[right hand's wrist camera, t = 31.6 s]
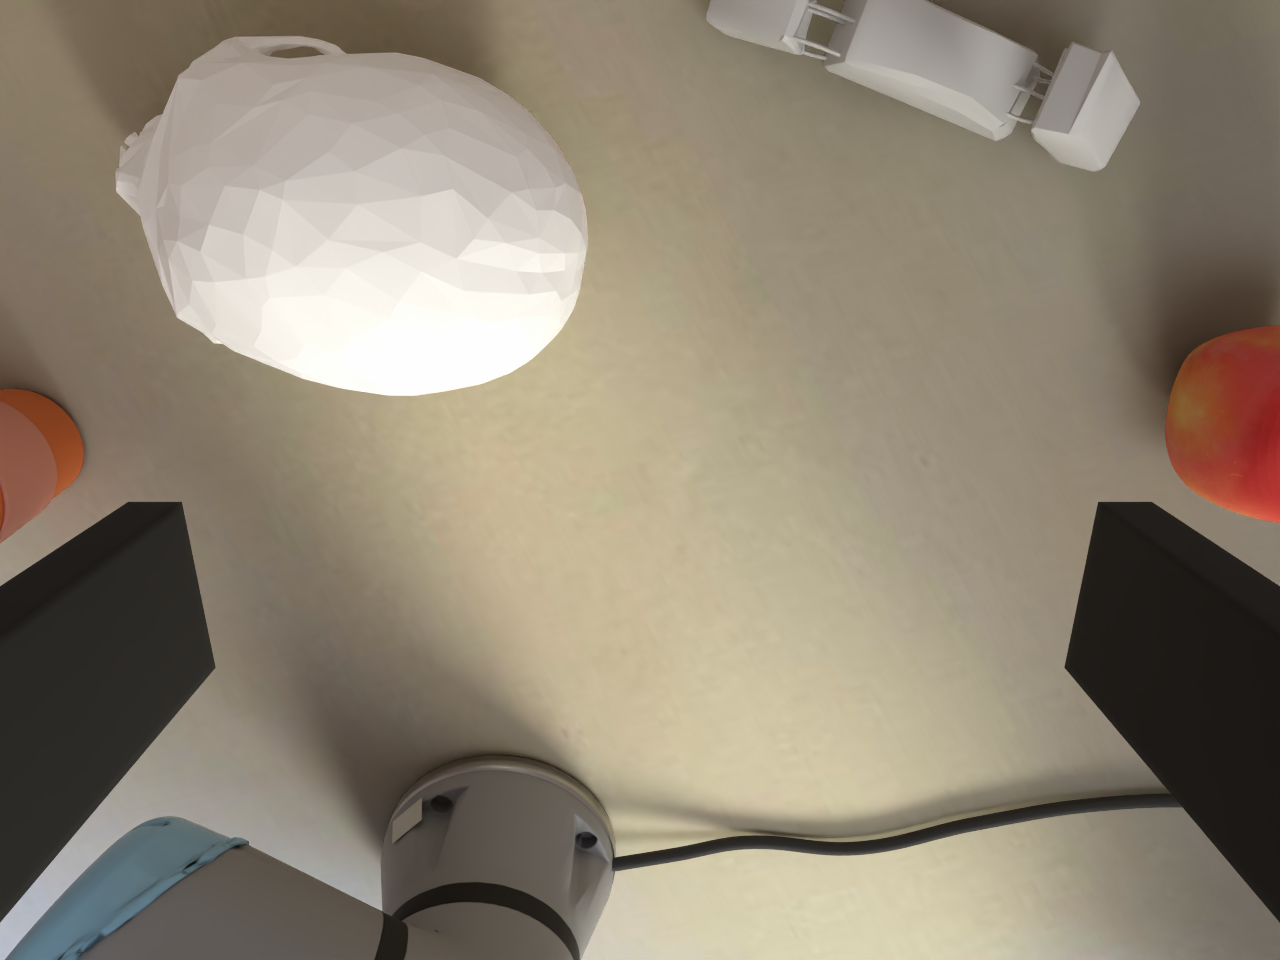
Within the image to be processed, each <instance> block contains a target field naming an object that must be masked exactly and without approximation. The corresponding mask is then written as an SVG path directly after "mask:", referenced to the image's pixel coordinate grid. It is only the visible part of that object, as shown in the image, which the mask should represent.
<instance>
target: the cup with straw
mask: <svg viewBox="0 0 1280 960" xmlns="http://www.w3.org/2000/svg"><path fill="white" fill-rule="evenodd" d="M83 461H84V446H83V442H82V438H81V435H80V433H79V431H78V429H77V427H76V425H75V423H74V422H73V421H72V419H71V418H70V417H69V415H68V414H67V413H66V412H65V411H64V410H63V409H62V408H61V407H59V406H58V405H57V404H56V403H54V402H53V401H51V400H50V399H48V398H46V397H44V396H42V395H40V394H37V393H35V392H31V391H28V390H22V389H3V390H0V543H1V542H3V541H4V540H5V539H7V538H8V537H9V536H10V535H12V534H13V533H14V532H16V531H17V530H18V529H20V528H21V527H22V526H24V525H25V524H26V523H27V522H29V521H30V520H31V519H33V518H34V517H35V516H37V515H38V514H39V513H40V512H41V511H42V510H44V509H45V508H46V506H47V505H48V504H49V502H50V501H51V499H53V498H54V497H55V496H57V495H58V494H59V493H61V492H62V491H63V490H64V489H66V488H67V487H68V486H69V485H71V484H72V483H73V482H74V481H75V479H76V478H77V477H78V475H79V473H80V471H81V469H82V466H83Z"/></svg>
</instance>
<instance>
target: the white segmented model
mask: <svg viewBox="0 0 1280 960" xmlns="http://www.w3.org/2000/svg"><path fill="white" fill-rule="evenodd" d="M816 2H817V0H711V1H710V4H709V7H708V11H707V14H706V20H707V22H708V23H710V24H711V25H712V26H714V27H715V28H717V29H718V30H719V31H721V32H722V33H724V34H725V35H727V36H730V37H734V38H737V39H741V40H745V41H748V42H752V43H756V44H759V45H763V46H767V47H770V48H774V49H778V50H782V51H785V52H789V53H793V54H797V55H802V54H804V55H807V56H810V57H814V58H819V59H823V66H824V67H825V68H826V69H827V70H828V71H829V72H831V73H834V74H836V75H839V76H841V77H844V78H846V79H848V80H851V81H853V82H856V83H858V84H860V85H863V86H865V87H868V88H870V89H873V90H875V91H877V92H880V93H882V94H885V95H887V96H889V97H892V98H894V99H897V100H899V101H901V102H904V103H906V104H908V105H911V106H913V107H915V108H918V109H920V110H923V111H925V112H927V113H930V114H932V115H934V116H937V117H939V118H942V119H944V120H946V121H949V122H951V123H954V124H956V125H958V126H961V127H963V128H965V129H968V130H970V131H973V132H975V133H977V134H980V135H982V136H984V137H987V138H989V139H992V140H994V141H997V140H1000V139H1003V138H1005V137H1006V136H1008V135H1009V134H1011V133H1012V131H1013V129H1014V127H1015V125H1016V123H1017V121H1020V122H1024V123H1028V124H1032V127H1031V135H1032V137H1033V139H1034V140H1036V141H1037V142H1038V143H1039V144H1040V145H1042V146H1043V147H1044V148H1045V149H1046V150H1047V151H1048V152H1049V153H1050V154H1051V155H1052V156H1053V158H1054V159H1055V160H1056V161H1058V162H1060V163H1063V164H1066V165H1070V166H1074V167H1078V168H1082V169H1086V170H1090V171H1093V172H1095V171H1098V170H1100V169H1102V168H1104V167H1105V166H1106V165H1107V163H1108V161H1109V159H1110V157H1111V156H1112V154H1113V152H1114V150H1115V148H1116V147H1117V145H1118V143H1119V141H1120V139H1121V138H1122V136H1123V134H1124V132H1125V130H1126V129H1127V127H1128V125H1129V123H1130V121H1131V119H1132V118H1133V116H1134V114H1135V112H1136V110H1137V109H1138V107H1139V105H1140V101H1139V98H1138V96H1137V94H1136V92H1135V91H1134V89H1133V88H1132V86H1131V84H1130V83H1129V81H1128V79H1127V78H1126V76H1125V74H1124V72H1123V70H1122V68H1121V66H1120V64H1119V62H1118V60H1117V58H1116V56H1115V54H1114V52H1113V50H1111V51H1106V52H1100V51H1097V50H1095V49H1092V48H1089V47H1086V46H1083V45H1081V44H1078V43H1075V42H1072V43H1071V44H1070V46H1069V48H1065V49H1064V51H1063V53H1062V56H1061V58H1060V60H1059V63H1058V65H1057V68H1056V70H1055V72H1054V73H1053V72H1052V71H1050V70H1048V69H1046V68H1045V67H1043V66H1041V65H1039V61H1038V59H1037V58H1038V55H1037V54H1036V53H1035V52H1034V51H1033V50H1031V49H1029V48H1027V47H1025V46H1023V45H1021V44H1019V43H1017V42H1015V41H1013V40H1011V39H1009V38H1007V37H1005V36H1003V35H1001V34H999V33H997V32H995V31H993V30H991V29H989V28H986V27H984V26H982V25H980V24H978V23H975V22H973V21H971V20H969V19H967V18H964V17H962V16H960V15H958V14H955V13H953V12H951V11H949V10H947V9H944V8H942V7H940V6H938V5H936V4H934V3H932V2H930V1H928V0H845V1H844V4H843V7H842V9H841V12H840V13H839V12H837V11H835V10H833V9H831V8H828V7H825V6H822V5H819V4H816ZM826 12H827V13H826ZM813 13H814V14H817V15H820V16H823V17H826V18H828V19H830V20H833V21H835V22H837V23H836V25H835V28H834V31H833V34H832V36H831V39H830V42H829V44H828V47H826V46H823V45H821V44H818V43H815V42H813V41H810V40H807V39H806V35H807V31H808V28H809V24H810V21H811V18H812V15H813ZM829 13H830V14H829ZM831 14H832V15H831ZM806 45H809V46H812V47H815V48H818V49H820V50H823V51H825V55H822V54H817V53H813V52H810V51H807V50H805V46H806ZM1040 71H1041V72H1043V73H1045V74H1047V75H1048V76H1050V77H1052V79H1051V80H1047V79H1043V78H1040ZM1037 82H1041V83H1044V84H1049V87H1048V89H1047V91H1046V94H1045V96H1044V95H1042V94H1040V93H1037V92H1035V91H1033V90H1034V88H1035V86H1036V84H1037ZM1030 95H1032V96H1035V97H1037V98H1039V99H1041V100H1043V101H1042V103H1041V106H1040V108H1039V111H1038V113H1037V115H1036V118H1035V120H1031V119H1027V118H1023V117H1020V115H1021V113H1022V111H1023V109H1024V107H1025V105H1026V103H1027V101H1028V99H1029V97H1030Z"/></svg>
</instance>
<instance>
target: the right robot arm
mask: <svg viewBox="0 0 1280 960" xmlns="http://www.w3.org/2000/svg"><path fill="white" fill-rule="evenodd" d="M214 669H215V663H214V658H213V653H212V648H211V643H210V639H209V634H208V629H207V624H206V619H205V614H204V609H203V604H202V599H201V594H200V589H199V584H198V580H197V575H196V570H195V565H194V560H193V555H192V550H191V545H190V540H189V535H188V530H187V525H186V521H185V516H184V511H183V506H182V502H128V503H126V504H125V505H123V506H121V507H120V508H118V509H117V510H115V511H114V512H112V513H111V514H109V515H108V516H106V517H105V518H103V519H102V520H100V521H99V522H97V523H96V524H94V525H93V526H91V527H90V528H88V529H87V530H85V531H84V532H82V533H80V534H79V535H77V536H76V537H74V538H73V539H71V540H70V541H68V542H67V543H65V544H64V545H62V546H61V547H59V548H58V549H56V550H55V551H53V552H52V553H50V554H49V555H47V556H46V557H44V558H43V559H41V560H40V561H38V562H36V563H35V564H33V565H32V566H30V567H29V568H27V569H26V570H24V571H23V572H21V573H20V574H18V575H17V576H15V577H14V578H12V579H11V580H9V581H8V582H6V583H5V584H3V585H2V586H0V922H1V921H2V920H3V918H4V917H5V916H6V915H7V914H8V913H9V911H10V910H11V909H12V908H13V907H14V905H15V904H16V903H17V902H18V901H19V900H20V898H21V897H22V896H23V895H24V894H25V892H26V891H27V890H28V889H29V888H30V887H31V885H32V884H33V883H34V882H35V881H36V879H37V878H38V877H39V876H40V875H41V873H42V872H43V871H44V870H45V869H46V868H47V866H48V865H49V864H50V863H51V862H52V860H53V859H54V858H55V857H56V856H57V855H58V853H59V852H60V851H61V850H62V849H63V847H64V846H65V845H66V844H67V843H68V842H69V840H70V839H71V838H72V837H73V836H74V834H75V833H76V832H77V831H78V830H79V828H80V827H81V826H82V825H83V824H84V823H85V821H86V820H87V819H88V818H89V817H90V815H91V814H92V813H93V812H94V811H95V810H96V808H97V807H98V806H99V805H100V804H101V802H102V801H103V800H104V799H105V798H106V797H107V795H108V794H109V793H110V792H111V791H112V789H113V788H114V787H115V786H116V785H117V784H118V782H119V781H120V780H121V779H122V778H123V776H124V775H125V774H126V773H127V772H128V770H129V769H130V768H131V767H132V766H133V765H134V763H135V762H136V761H137V760H138V759H139V757H140V756H141V755H142V754H143V753H144V752H145V750H146V749H147V748H148V747H149V746H150V744H151V743H152V742H153V741H154V740H155V739H156V737H157V736H158V735H159V734H160V733H161V731H162V730H163V729H164V728H165V727H166V726H167V724H168V723H169V722H170V721H171V720H172V718H173V717H174V716H175V715H176V714H177V712H178V711H179V710H180V709H181V708H182V707H183V705H184V704H185V703H186V702H187V701H188V699H189V698H190V697H191V696H192V695H193V694H194V692H195V691H196V690H197V689H198V688H199V686H200V685H201V684H202V683H203V682H204V681H205V679H206V678H207V677H208V676H209V675H210V673H211V672H212V671H213V670H214ZM1065 669H1066V670H1067V671H1068V672H1069V673H1070V675H1071V676H1072V677H1073V678H1074V679H1075V681H1076V682H1077V683H1078V684H1079V685H1080V686H1081V688H1082V689H1083V690H1084V691H1085V692H1086V694H1087V695H1088V696H1089V697H1090V698H1091V699H1092V701H1093V702H1094V703H1095V704H1096V705H1097V707H1098V708H1099V709H1100V710H1101V711H1102V712H1103V714H1104V715H1105V716H1106V717H1107V718H1108V720H1109V721H1110V722H1111V723H1112V724H1113V726H1114V727H1115V728H1116V729H1117V730H1118V731H1119V733H1120V734H1121V735H1122V736H1123V737H1124V739H1125V740H1126V741H1127V742H1128V743H1129V744H1130V746H1131V747H1132V748H1133V749H1134V750H1135V752H1136V753H1137V754H1138V755H1139V756H1140V757H1141V759H1142V760H1143V761H1144V762H1145V763H1146V765H1147V766H1148V767H1149V768H1150V769H1151V770H1152V772H1153V773H1154V774H1155V775H1156V776H1157V778H1158V779H1159V780H1160V781H1161V782H1162V784H1163V785H1164V786H1165V787H1166V788H1167V789H1168V791H1169V792H1170V793H1171V794H1143V795H1125V796H1112V797H1100V798H1090V799H1080V800H1071V801H1063V802H1056V803H1049V804H1043V805H1037V806H1031V807H1025V808H1020V809H1014V810H1009V811H1004V812H998V813H993V814H988V815H983V816H977V817H972V818H967V819H962V820H958V821H953V822H949V823H945V824H941V825H937V826H933V827H929V828H926V829H922V830H918V831H914V832H910V833H906V834H902V835H898V836H893V837H888V838H882V839H876V840H869V841H859V842H823V841H813V840H804V839H796V838H788V837H778V836H737V837H728V838H721V839H716V840H711V841H706V842H702V843H697V844H693V845H688V846H683V847H677V848H671V849H665V850H659V851H653V852H647V853H641V854H634V855H628V856H622V857H615V853H616V848H615V838H614V833H613V829H612V826H611V823H610V821H609V819H608V816H607V814H606V813H605V811H604V809H603V808H602V806H601V805H600V803H599V802H598V801H597V799H596V798H595V797H594V796H593V795H592V794H591V793H590V792H589V791H588V790H587V789H586V788H585V787H584V786H583V785H582V784H580V783H579V782H578V781H576V780H575V779H574V778H572V777H570V776H569V775H567V774H565V773H564V772H562V771H560V770H558V769H556V768H554V767H551V766H549V765H546V764H544V763H541V762H537V761H534V760H531V759H526V758H521V757H514V756H504V755H486V756H476V757H470V758H465V759H461V760H457V761H454V762H451V763H448V764H446V765H443V766H441V767H439V768H437V769H435V770H433V771H431V772H429V773H428V774H426V775H425V776H423V777H422V778H421V779H419V780H418V781H417V782H415V783H414V784H413V785H412V786H411V787H410V788H409V789H408V790H407V792H406V793H405V794H404V795H403V796H402V798H401V799H400V801H399V803H398V804H397V806H396V808H395V810H394V812H393V815H392V817H391V820H390V823H389V825H388V828H387V831H386V834H385V837H384V842H383V849H382V855H381V883H382V909H383V912H382V911H381V910H378V909H376V908H374V907H372V906H370V905H368V904H366V903H364V902H362V901H360V900H358V899H356V898H354V897H352V896H350V895H348V894H346V893H344V892H342V891H340V890H338V889H336V888H334V887H332V886H330V885H327V884H325V883H323V882H321V881H319V880H317V879H315V878H313V877H311V876H309V875H307V874H305V873H303V872H301V871H299V870H297V869H295V868H293V867H291V866H289V865H287V864H285V863H283V862H281V861H279V860H277V859H275V858H273V857H271V856H269V855H267V854H265V853H263V852H261V851H259V850H257V849H255V848H253V847H251V846H249V841H247V840H245V839H243V838H236V837H234V838H229V837H226V836H224V835H221V834H219V833H217V832H214V831H212V830H210V829H207V828H205V827H202V826H200V825H198V824H195V823H193V822H191V821H188V820H186V819H183V818H179V817H172V816H167V817H159V818H155V819H152V820H149V821H146V822H144V823H142V824H140V825H139V826H137V827H135V828H134V829H132V830H131V831H129V832H128V833H126V834H125V835H124V836H123V837H121V838H120V839H119V840H118V841H116V842H115V843H114V844H113V845H112V846H111V847H109V848H108V849H107V850H106V851H105V852H104V853H103V854H102V855H101V856H100V857H99V858H98V859H97V860H96V861H95V862H94V863H93V864H92V865H90V866H89V867H88V868H87V869H86V870H85V871H84V872H83V873H82V874H81V875H80V876H79V877H78V879H77V880H76V881H75V882H74V883H73V884H72V885H71V886H70V887H69V888H68V889H67V890H66V891H65V892H64V893H63V894H62V895H61V896H60V897H59V899H58V900H57V901H56V902H55V903H54V904H53V905H52V906H51V907H50V908H49V909H48V910H47V912H46V913H45V914H44V915H43V916H42V917H41V918H40V919H39V920H38V922H37V923H36V924H35V925H34V926H33V927H32V928H31V929H30V931H29V932H28V933H27V934H26V935H25V936H24V937H23V939H22V940H21V941H20V942H19V943H18V944H17V946H16V947H15V948H14V949H13V950H12V952H11V953H10V954H9V955H8V957H7V958H6V959H5V960H581V958H582V956H583V953H584V951H585V949H586V947H587V945H588V943H589V940H590V938H591V936H592V934H593V932H594V929H595V927H596V925H597V923H598V921H599V918H600V916H601V914H602V912H603V910H604V907H605V905H606V903H607V901H608V898H609V895H610V891H611V887H612V884H613V879H614V874H615V871H620V870H626V869H632V868H639V867H645V866H651V865H657V864H663V863H669V862H675V861H681V860H686V859H691V858H696V857H700V856H705V855H709V854H714V853H719V852H725V851H731V850H741V849H775V850H786V851H794V852H802V853H810V854H820V855H838V856H841V855H863V854H873V853H880V852H886V851H892V850H897V849H902V848H906V847H910V846H914V845H918V844H922V843H926V842H930V841H933V840H937V839H941V838H945V837H949V836H953V835H957V834H962V833H966V832H971V831H976V830H982V829H987V828H992V827H998V826H1003V825H1008V824H1014V823H1019V822H1025V821H1030V820H1036V819H1042V818H1048V817H1055V816H1062V815H1069V814H1077V813H1086V812H1096V811H1107V810H1119V809H1133V808H1155V807H1183V808H1184V810H1185V811H1186V812H1187V813H1188V814H1189V815H1190V817H1191V818H1192V819H1193V820H1194V821H1195V823H1196V824H1197V825H1198V826H1199V827H1200V828H1201V830H1202V831H1203V832H1204V833H1205V834H1206V836H1207V837H1208V838H1209V839H1210V840H1211V842H1212V843H1213V844H1214V845H1215V846H1216V847H1217V849H1218V850H1219V851H1220V852H1221V853H1222V855H1223V856H1224V857H1225V858H1226V859H1227V860H1228V862H1229V863H1230V864H1231V865H1232V866H1233V868H1234V869H1235V870H1236V871H1237V872H1238V873H1239V875H1240V876H1241V877H1242V878H1243V879H1244V881H1245V882H1246V883H1247V884H1248V885H1249V887H1250V888H1251V889H1252V890H1253V891H1254V892H1255V894H1256V895H1257V896H1258V897H1259V898H1260V900H1261V901H1262V902H1263V903H1264V904H1265V905H1266V907H1267V908H1268V909H1269V910H1270V911H1271V913H1272V914H1273V915H1274V916H1275V917H1276V918H1277V920H1278V921H1279V922H1280V586H1278V585H1277V584H1275V583H1274V582H1272V581H1271V580H1269V579H1268V578H1266V577H1265V576H1263V575H1262V574H1260V573H1259V572H1257V571H1256V570H1254V569H1253V568H1251V567H1250V566H1248V565H1247V564H1245V563H1244V562H1242V561H1240V560H1239V559H1237V558H1236V557H1234V556H1233V555H1231V554H1230V553H1228V552H1227V551H1225V550H1224V549H1222V548H1221V547H1219V546H1218V545H1216V544H1215V543H1213V542H1212V541H1210V540H1209V539H1207V538H1206V537H1204V536H1203V535H1201V534H1200V533H1198V532H1196V531H1195V530H1193V529H1192V528H1190V527H1189V526H1187V525H1186V524H1184V523H1183V522H1181V521H1180V520H1178V519H1177V518H1175V517H1174V516H1172V515H1171V514H1169V513H1168V512H1166V511H1165V510H1163V509H1162V508H1160V507H1159V506H1157V505H1155V504H1154V503H1152V502H1098V506H1097V511H1096V516H1095V521H1094V525H1093V530H1092V535H1091V540H1090V545H1089V550H1088V555H1087V560H1086V565H1085V570H1084V575H1083V580H1082V584H1081V589H1080V594H1079V599H1078V604H1077V609H1076V614H1075V619H1074V624H1073V629H1072V634H1071V639H1070V643H1069V648H1068V653H1067V658H1066V663H1065Z"/></svg>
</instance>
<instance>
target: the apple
mask: <svg viewBox="0 0 1280 960" xmlns="http://www.w3.org/2000/svg"><path fill="white" fill-rule="evenodd" d="M1165 437H1166V446H1167V450H1168V454H1169V457H1170V461H1171V463H1172V465H1173V467H1174V469H1175V471H1176V473H1177V474H1178V476H1179V477H1180V478H1181V480H1182V481H1183V482H1184V483H1185V484H1186V485H1187V486H1188V487H1189V488H1190V489H1191V490H1193V491H1194V492H1196V493H1197V494H1199V495H1200V496H1202V497H1203V498H1205V499H1207V500H1209V501H1211V502H1213V503H1215V504H1216V505H1218V506H1221V507H1223V508H1226V509H1228V510H1231V511H1233V512H1236V513H1239V514H1243V515H1246V516H1249V517H1253V518H1257V519H1261V520H1266V521H1271V522H1278V523H1280V326H1265V327H1257V328H1251V329H1245V330H1239V331H1235V332H1231V333H1228V334H1225V335H1222V336H1219V337H1216V338H1213V339H1211V340H1209V341H1207V342H1205V343H1203V344H1201V345H1200V346H1198V347H1197V348H1196V349H1194V350H1193V351H1192V352H1191V353H1190V354H1189V355H1188V356H1187V358H1186V359H1185V361H1184V362H1183V364H1182V366H1181V368H1180V370H1179V372H1178V375H1177V377H1176V380H1175V382H1174V385H1173V388H1172V391H1171V395H1170V399H1169V403H1168V408H1167V415H1166V429H1165Z"/></svg>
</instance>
